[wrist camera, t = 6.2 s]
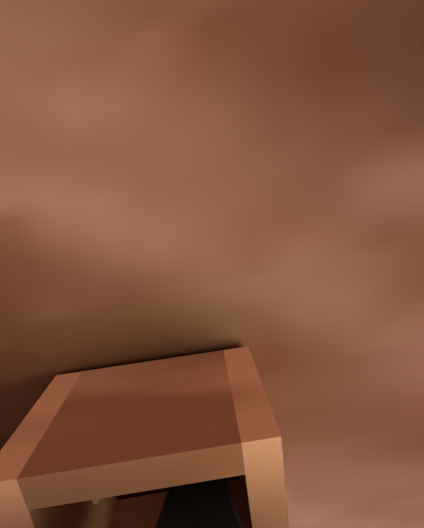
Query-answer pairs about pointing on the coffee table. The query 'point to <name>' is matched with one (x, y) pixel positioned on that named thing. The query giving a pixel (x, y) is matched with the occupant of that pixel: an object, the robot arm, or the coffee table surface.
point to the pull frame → (144, 444)
